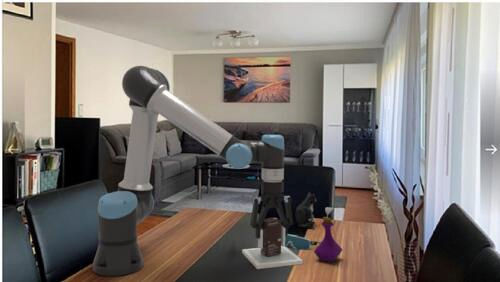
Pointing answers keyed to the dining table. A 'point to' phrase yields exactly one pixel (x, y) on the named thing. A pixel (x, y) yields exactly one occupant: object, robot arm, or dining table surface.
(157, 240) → the dining table surface
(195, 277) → the dining table surface
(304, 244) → the sunglasses
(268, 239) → the box
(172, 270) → the dining table surface
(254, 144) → the robot arm
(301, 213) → the figurine
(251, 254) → the picture frame
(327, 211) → the perfume bottle
